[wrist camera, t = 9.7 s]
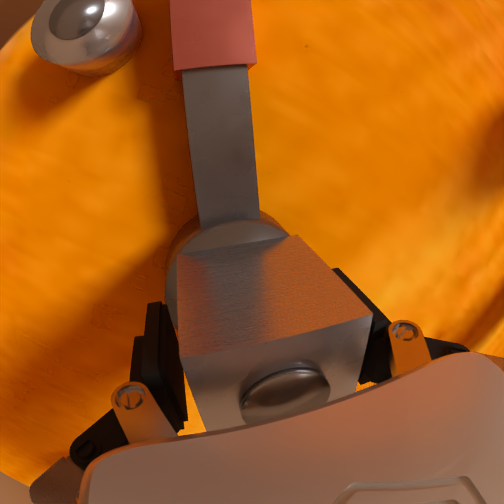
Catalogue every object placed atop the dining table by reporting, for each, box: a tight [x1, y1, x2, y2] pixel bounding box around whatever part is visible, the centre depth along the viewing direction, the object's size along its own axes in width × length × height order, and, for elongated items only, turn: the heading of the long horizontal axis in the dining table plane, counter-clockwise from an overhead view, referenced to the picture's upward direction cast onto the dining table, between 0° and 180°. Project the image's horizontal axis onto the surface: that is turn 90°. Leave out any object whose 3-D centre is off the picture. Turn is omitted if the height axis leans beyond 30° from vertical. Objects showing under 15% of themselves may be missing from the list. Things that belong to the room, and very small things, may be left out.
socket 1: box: [31, 0, 142, 77], centre depth 8 cm, size 4×4×4 cm
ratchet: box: [165, 0, 290, 330], centre depth 11 cm, size 7×20×6 cm, turn 5°
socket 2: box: [177, 235, 373, 432], centre depth 11 cm, size 5×5×6 cm
